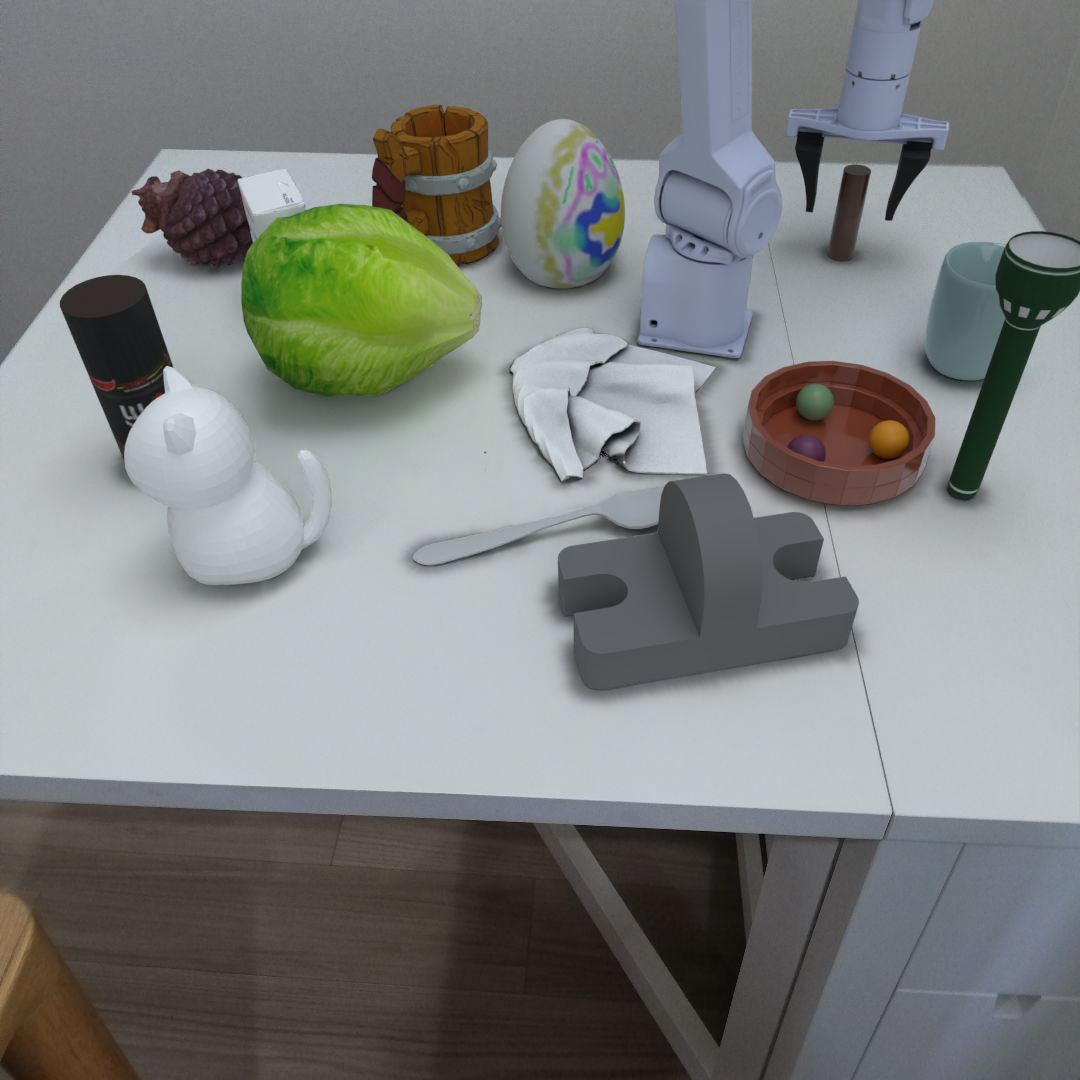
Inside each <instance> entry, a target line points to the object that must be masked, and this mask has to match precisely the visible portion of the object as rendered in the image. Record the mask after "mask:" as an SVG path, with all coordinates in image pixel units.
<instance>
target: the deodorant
mask: <svg viewBox="0 0 1080 1080" xmlns="http://www.w3.org/2000/svg"><path fill="white" fill-rule="evenodd" d="M59 308H60V310H61V313H62V315H63V318H64V320H65V322H66V325H67V327H68V330H69V332H70V335H71V337H72V339H73V342H74V345H75V346H76V349H77V351H78V354H79V357H80V359H81V361H82V363H83V365H84V368H85V371H86V374H87V375H88V378H89V380H90V383H91V385H92V388H93V390H94V392H95V394H96V397H97V399H98V402H99V405H100V406H101V409H102V411H103V414H104V416H105V419H106V421H107V423H108V425H109V428H110V431H111V433H112V435H113V438H114V440H115V442H116V445H117V447H118V449H119V452H120V454H121V457H122V459H123V462H124V463H125V461H124V451H125V444H126V441H127V438H128V435H129V432H130V430H131V428H132V427H133V425H134V423H135V422H136V420H137V418H138V417H139V416H140V414H141V413H142V412H143V411H144V409H145V408H146V407H147V406H148V405H149V404H150V403H151V402H152V401H154V400H155V399H156V398H158V397H160V396H161V395H163V394H165V387H164V374H163V370H164V368H165V367H166V366H169V367H173V368H175V367H174V365H173V361H172V359H171V356H170V352H169V350H168V347H167V343H166V341H165V338H164V336H163V332H162V330H161V326H160V324H159V320H158V318H157V315H156V312H155V309H154V306H153V303H152V300H151V297H150V294H149V292H148V289H147V285H146V284H145V283H144V281H143V280H141V279H140V278H138V277H136V276H131V275H126V274H107V275H102V276H97V277H92V278H90V279H86V280H84V281H82V282H79V283H77V284H75V285H74V286H72V287H70V288H69V289H67V290H66V292H64V293H63V294H62V296H61V298H60V300H59Z"/></svg>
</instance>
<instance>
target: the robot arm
mask: <svg viewBox="0 0 1080 1080" xmlns="http://www.w3.org/2000/svg"><path fill="white" fill-rule="evenodd" d="M934 2H935V0H857V2H856V6H855V7H856V8H855V14H854V19H853V24H852V30H851V34H850V35H851V36H850V41H849V45H848V46H849V47H848V52H847V59H846V64H845V69H844V74H843V81H842V85H841V86H842V87H841V92H840V97H839V102H838V107H831V108H811V109H809V108H808V109H807V108H806V109H805V108H804V109H803V108H802V109H801V108H799V109H797V108H791V109H790V110H789V113H788V117H787V123H786V124H787V125H786V131H785V137H787V138H796V141H795V146H794V151H795V156H796V158H797V161H798V163H799V167H800V170H801V174H802V179H803V184H804V190H805V212H806V213H814V208H815V205H816V198H817V193H818V181H819V173H820V172H819V171H820V165H821V159H822V153H823V147H824V142H825V138H829V139H830V138H831V139H843V140H853V141H866V142H877V143H887V144H899V145H900V144H901V149H900V150H901V151H900V154H899V155H900V156H899V159H898V164H897V168H896V174H895V177H894V180H893V181H894V182H893V183H892V187H891V191H890V193H889V195H888V196H889V197H888V200H887V204H886V209H885V214H884V221H889V222H892V221H893V220H894V216H895V214H896V212H897V209H898V207H899V205H900V203H901V201H902V200H903V198H904V196H905V194H906V193H907V191H908V190H909V188H910V187H911V185H912V184H913V183H914V181H915V180H916V179H917V177H918V176H919V175H920V174H921V172H923V170H924V169H925V168H926V166H927V165H928V164H929V162H930V160H931V153H932V150H936V151H944V150H945V146H946V144H947V139H948V136H949V131H950V122H949V121H946V120H937V119H931V118H926V117H921V116H917V115H912V114H909V113H903V108H904V105H905V99H906V95H907V90H908V85H909V81H910V78H911V77H910V76H911V73H912V68H913V64H914V60H915V59H914V58H915V55H916V52H917V51H916V50H917V46H918V42H919V37H920V32H921V28H922V24H923V21H924V19H926V18H927V17H929V15H930V11H931V10H932V9H933V5H934ZM674 11H675V12H674V13H675V29H676V46H677V47H676V48H677V63H678V64H677V65H678V81H679V96H680V97H679V98H680V114H681V115H680V116H681V131H682V133H680V134H679V135H677V136H676V137H674V138H673V139H671V141H670V142H669V143H668V144H666V146H665V147H664V148H663V149H662V150H661V152H660V153H659V155H658V179H657V182H656V186H655V189H654V197H653V198H654V199H653V204H654V205H653V206H654V211H655V215H656V217H657V218H658V220H659V221H660V222H661V223H663V224H665V233H662V234H661V233H660V234H659V233H658V234H653V235H652V236H651V237H650V240H649V243H648V246H647V249H646V254H645V259H644V265H643V272H642V283H641V284H642V285H641V300H640V323H639V324H640V325H639V334H638V338H637V343H638V344H639V345H641V346H645V347H646V346H648V347H654V348H660V349H666V350H667V349H668V350H675V351H681V352H688V353H696V354H703V355H710V356H716V357H724V358H731V359H740V358H741V357H742V354H743V350H744V347H745V343H746V340H747V336H748V333H749V330H750V326H751V323H752V319H753V315H754V313H753V310H751V309H748V308H747V305H748V298H749V292H750V291H749V289H750V282H751V276H752V268H753V260H754V255H756V254H758V253H759V252H760V251H762V249H764V248H765V247H766V246H767V245H768V244H769V243H770V242H771V240H772V239H773V237H774V235H775V234H776V232H777V230H778V227H779V225H780V223H781V218H782V214H783V195H782V190H781V189H780V187H779V184H778V182H777V179H776V162H775V160H774V158H773V157H772V156H771V154H770V153H769V151H768V150H767V149H766V147H765V146H764V145H763V144H762V142H761V141H760V140H759V138H758V137H757V135H756V134H755V133H754V131H753V0H674Z"/></svg>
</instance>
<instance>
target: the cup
mask: <svg viewBox="0 0 1080 1080" xmlns="http://www.w3.org/2000/svg"><path fill="white" fill-rule="evenodd" d="M1006 244H1007V243H1001V242H994V241H970V242H969V241H968V242H963V243H959V244H956V245H953V247H951V248H949V250H948V251H947V252H946V253H945V255H944V257H943V259H942V263H941V266H940V269H939V272H938V275H937V279H936V282H935V287H934V288H933V289H934V290H933V292H932V293H933V294H932V297H931V301H930V305H929V309H928V313H927V318H926V324H925V331H924V351H925V354H926V357H927V360H928V362H929V363H930V365H931V366H932V368H933V369H935V370H936V371H937V372H938V373H940V374H941V375H943V376H945V377H948V378H951V379H955V380H958V381H970V382H971V381H973V382H974V381H981V380H984V378H985V375H986V372H987V370H988V367H989V364H990V361H991V358H992V355H993V352H994V349H995V347H996V344H997V341H998V338H999V335H1000V332H1001V329H1002V326H1003V323H1004V321H1005V316H1004V313H1003V311H1002V309H1001V307H1000V305H999V303H998V301H997V296H996V282H995V275H996V271H997V268H998V265H999V262H1000V259H1001V256H1002V253H1003V250H1004V249H1005V247H1006Z"/></svg>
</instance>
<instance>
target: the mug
mask: <svg viewBox="0 0 1080 1080" xmlns="http://www.w3.org/2000/svg"><path fill="white" fill-rule="evenodd" d="M443 107H444V106H443V105H442V104H428V105H424V106H419V107H416V108H413V109H410V110H408V111H407V112H405V113H404V114H403V115H401V116H399V117H397V118H396V119H395V121H393V122H392V123H391V125H390V131H389V130H387V129H384V128H378V129H376V131H375V133H374V135H373V136H372V140H373V141H372V142H373V144H374V147H375V151H376V155H377V157H375V159H374V162H373V165H372V170H371V180H372V181H373V182H374V183H375V185H372V189H371V190H372V192H371V206H373V207H378V208H383V209H389V210H392V211H393V212H394V213H396V214H397V215H398V216H399V217H401V218H402V219H403V220H405V221H406V222H407V223H409V224H410V225H411V226H413V227H414V228H416V229H417V230H418V231H420V232H421V233H422V234H424V235H425V236H426V237H428V238H429V239H430V240H432V241H433V242H434V243H435V244H437V245H438V246H439V247H440V248H441V249H442V250H443V251H445V252H446V253H447V254H448V255H449V256H450V258H451V259H452V260H453V261H454V263H455V264H456V265H457V266H459V265H460V264H470V263H472V262H475V261H479V260H481V259H483V258H485V257H486V256H488V255H489V252H494V251H495V249H496V248H497V245H498V243H499V235H498V234H499V232H500V229H502V226H501V216H500V215H499V211H498V209H497V207H496V205H495V204H494V202H493V194H492V184H491V178H492V177H493V174H494V172H495V171H496V170H497V167H498V163H497V161H496V160H495V159H494V157H493V154H494V153H492V150H491V149H490V148H489V121H488V120H487V118H486V117H485V116H484V115H483V114H481V113H480V112H478V111H475V110H472V109H471V108H467V107H462V106H454V105H453V106H452V105H447V106H446V108H445V110H444V108H443Z"/></svg>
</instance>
